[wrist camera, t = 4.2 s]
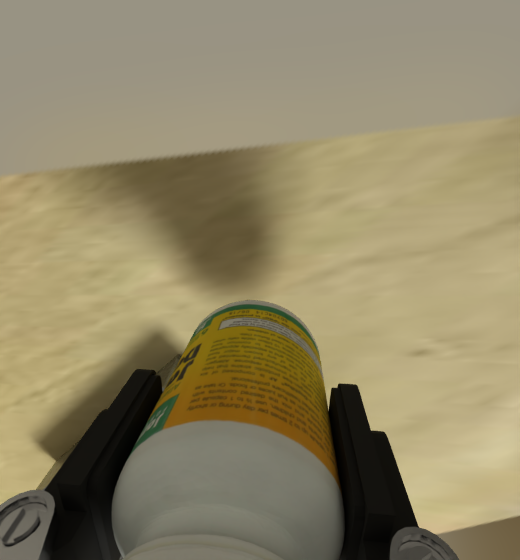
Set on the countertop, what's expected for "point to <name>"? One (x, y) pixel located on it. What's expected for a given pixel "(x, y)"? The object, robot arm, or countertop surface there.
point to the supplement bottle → (236, 450)
